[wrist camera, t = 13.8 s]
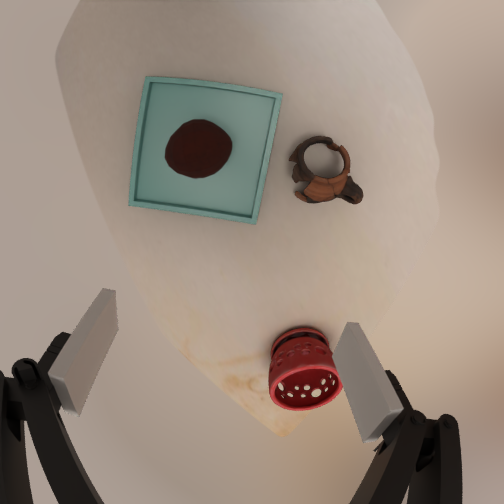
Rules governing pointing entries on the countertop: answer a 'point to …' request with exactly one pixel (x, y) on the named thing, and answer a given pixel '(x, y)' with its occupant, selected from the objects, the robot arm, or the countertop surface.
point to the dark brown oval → (198, 149)
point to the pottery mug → (320, 186)
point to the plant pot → (302, 370)
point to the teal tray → (225, 116)
